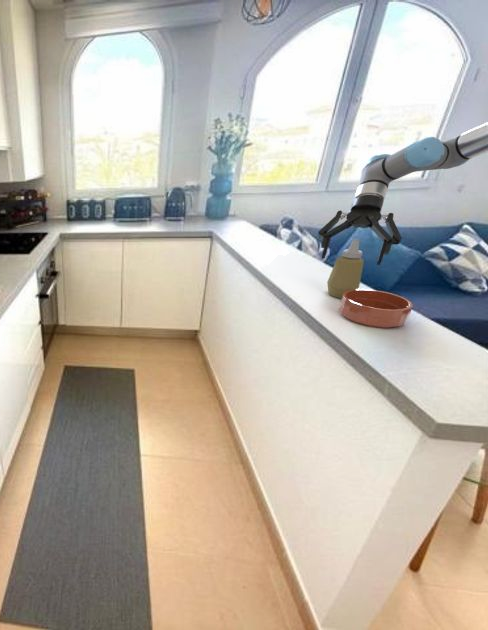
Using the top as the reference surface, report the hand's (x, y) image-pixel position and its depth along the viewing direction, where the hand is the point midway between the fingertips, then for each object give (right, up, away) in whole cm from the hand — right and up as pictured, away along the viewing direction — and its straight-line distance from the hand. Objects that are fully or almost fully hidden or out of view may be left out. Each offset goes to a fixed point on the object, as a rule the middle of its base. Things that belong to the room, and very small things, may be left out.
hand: (350, 259), depth 105 cm
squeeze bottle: (0, -11, +4) cm, 12 cm away
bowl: (-3, -18, -10) cm, 20 cm away
